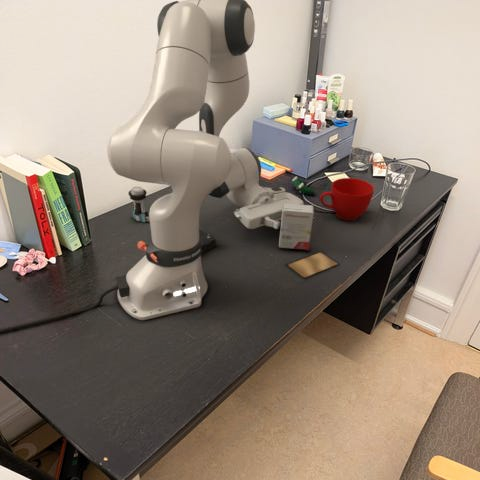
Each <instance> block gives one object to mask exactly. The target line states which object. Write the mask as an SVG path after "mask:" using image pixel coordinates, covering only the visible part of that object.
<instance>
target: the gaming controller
mask: <svg viewBox="0 0 480 480" xmlns="http://www.w3.org/2000/svg"><path fill="white" fill-rule="evenodd" d="M291 183H292V184H293V185H294V186H295V189H296V190H298V192H299V193H300V194H304V195H308V196H315V190H314V189H313V188H312V187H308V186H306V185H307V182H306V181H305V180H303V179H299V177H298V176H295V177H294V178H293V179H291Z"/></svg>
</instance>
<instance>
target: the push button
mask: <svg viewBox="0 0 480 480" xmlns="http://www.w3.org/2000/svg"><path fill="white" fill-rule="evenodd" d="M147 193H148V192H147V190H145V189H144V188H143V187H141V186H134V187H131V188H130V190H129V191H128V196H129V198H130V200H132V202H133V207H134V208H133V210H132V217H133V219H134V220H136V221H137V222H142V223H146V222H149V223H150V219H149V212H148V211H146V208H145V199H146V198H147Z"/></svg>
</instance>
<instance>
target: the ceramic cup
mask: <svg viewBox="0 0 480 480" xmlns="http://www.w3.org/2000/svg"><path fill="white" fill-rule="evenodd" d="M374 190H375V188H374V186H373V185H372V184H371V183H370V182H368V181H366V180H363V179H359V178H354V177H342V178H338V179H336V180H334V181H333V182H332V184H331V190H330V191H324V192H323V193H322V194H321V195H320V198H319V200H320V203H321V204H322V206H323V207H326V208H328V209H332V210H333V211H334V213H335V215H336V216H337V217H338V218H339V219H341V220H344V221H354V220H356V219H357V218H359V217H361V216H362V215H363V214H364V213H365V212H366V210H367V209H368V207H369V206H370V203H371V201H372V199H373V195H374V192H375V191H374ZM328 195H329V196H330V202H331V204H327V203H326V202H325V201H324V197H325V196H328Z"/></svg>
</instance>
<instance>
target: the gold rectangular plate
mask: <svg viewBox="0 0 480 480" xmlns="http://www.w3.org/2000/svg"><path fill="white" fill-rule="evenodd" d="M337 265H338V263H337V262H335V261H334V260H333V259H331V258H329V257H328V256H327V255H326V254H324V253H322V252H321V251H319V252H318V253H317V252H316V253H314V254H313V255H310V256H307V257H305V258H302V259H299V260H297V261H294V262H291V263H289V264H287V266H288V267H289V268H290V269H292V270H293V271H295V272H296V274H298V275H299V276H301V277H303V279H306V278H308V277H311V276H314V275H316V274H318V273H321V272H323V271H326V270H329V269H331V268H333V267H335V266H337Z"/></svg>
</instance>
